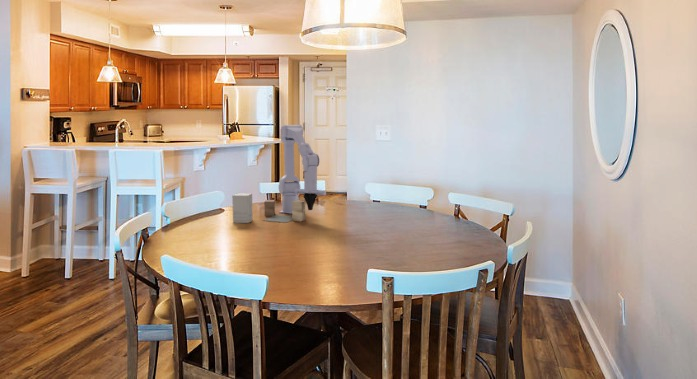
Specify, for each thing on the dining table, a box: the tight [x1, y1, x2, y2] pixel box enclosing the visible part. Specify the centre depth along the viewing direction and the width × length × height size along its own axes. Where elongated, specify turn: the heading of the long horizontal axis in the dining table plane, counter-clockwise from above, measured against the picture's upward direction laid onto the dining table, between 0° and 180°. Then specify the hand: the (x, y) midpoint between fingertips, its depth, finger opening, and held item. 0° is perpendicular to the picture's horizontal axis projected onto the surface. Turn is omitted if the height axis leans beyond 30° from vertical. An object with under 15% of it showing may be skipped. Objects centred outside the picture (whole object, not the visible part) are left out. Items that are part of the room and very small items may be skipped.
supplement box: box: [231, 192, 254, 224], centre depth 226 cm, size 7×7×13 cm
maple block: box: [291, 199, 306, 223], centre depth 230 cm, size 4×4×9 cm
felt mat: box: [262, 214, 292, 224], centre depth 234 cm, size 14×12×1 cm
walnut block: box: [264, 199, 276, 217], centre depth 243 cm, size 4×4×7 cm
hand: (310, 209), depth 228 cm, fingers closed
